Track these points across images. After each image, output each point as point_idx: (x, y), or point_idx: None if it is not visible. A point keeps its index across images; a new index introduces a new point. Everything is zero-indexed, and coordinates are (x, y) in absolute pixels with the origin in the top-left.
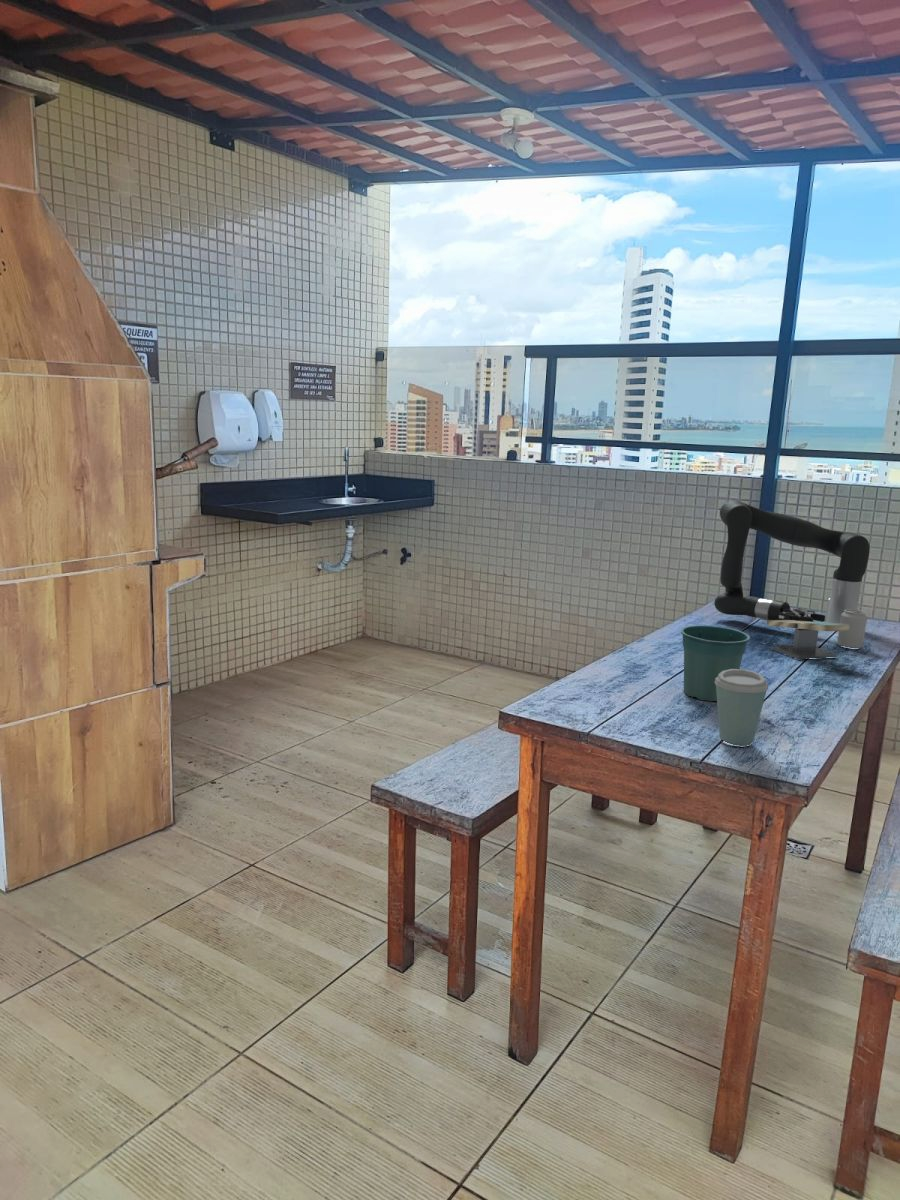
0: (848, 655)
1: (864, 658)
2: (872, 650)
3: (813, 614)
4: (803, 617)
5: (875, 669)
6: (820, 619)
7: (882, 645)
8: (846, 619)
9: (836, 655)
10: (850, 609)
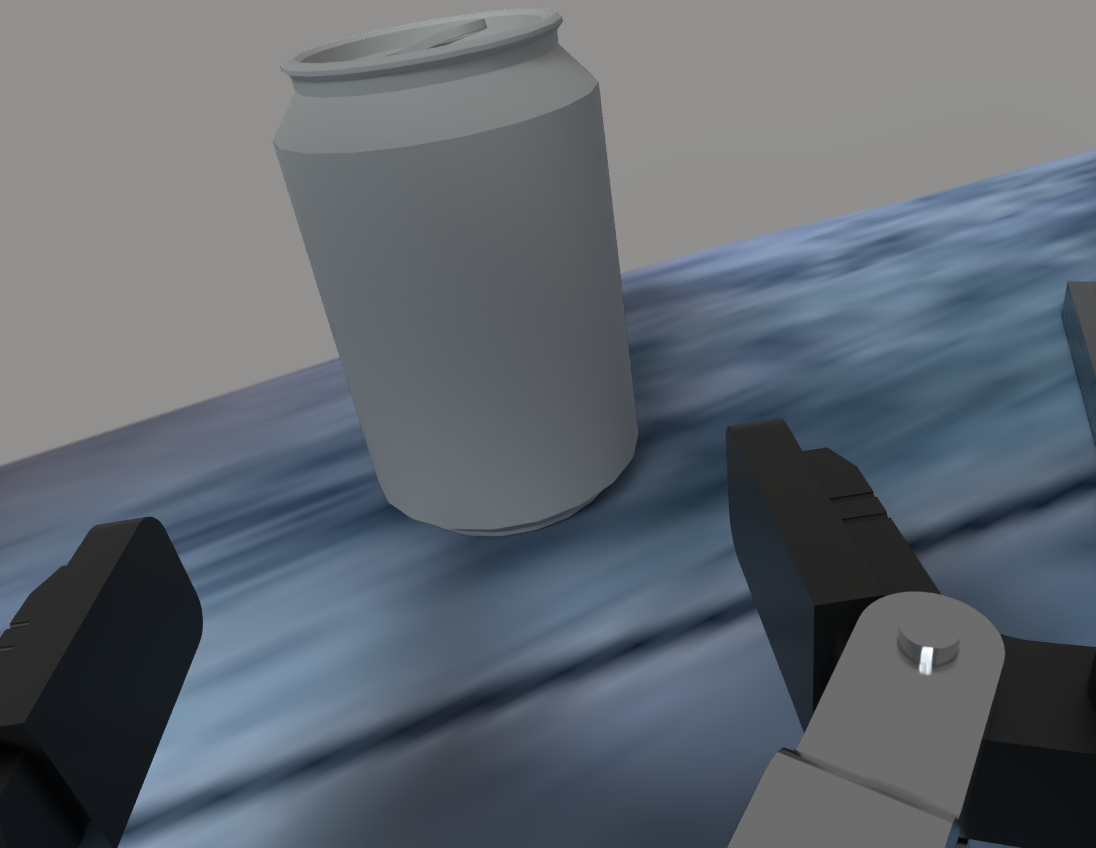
0: (832, 347)
1: (770, 298)
2: None
3: (16, 763)
4: (854, 568)
5: (949, 199)
6: (164, 648)
7: (145, 447)
8: (601, 124)
9: (1070, 289)
10: (327, 64)
